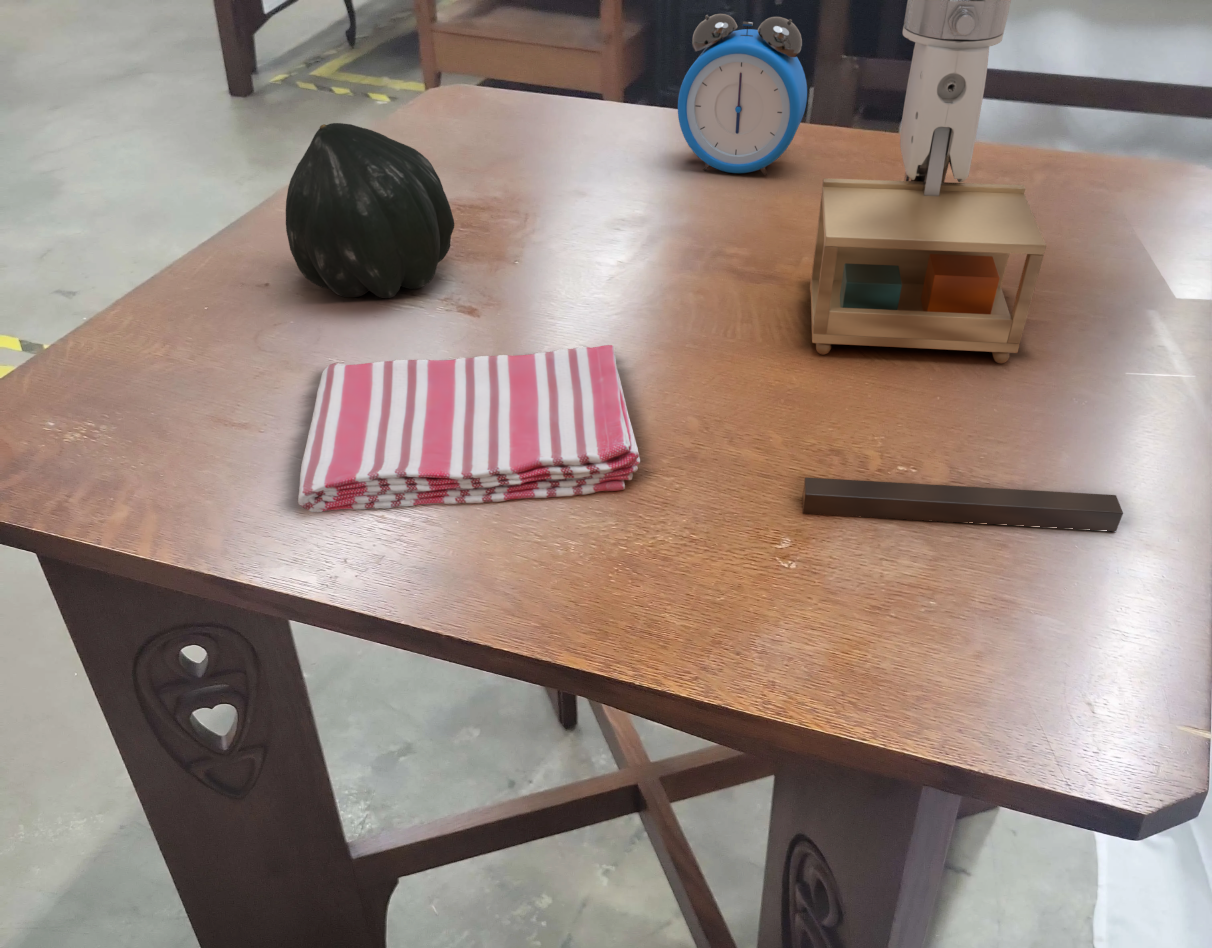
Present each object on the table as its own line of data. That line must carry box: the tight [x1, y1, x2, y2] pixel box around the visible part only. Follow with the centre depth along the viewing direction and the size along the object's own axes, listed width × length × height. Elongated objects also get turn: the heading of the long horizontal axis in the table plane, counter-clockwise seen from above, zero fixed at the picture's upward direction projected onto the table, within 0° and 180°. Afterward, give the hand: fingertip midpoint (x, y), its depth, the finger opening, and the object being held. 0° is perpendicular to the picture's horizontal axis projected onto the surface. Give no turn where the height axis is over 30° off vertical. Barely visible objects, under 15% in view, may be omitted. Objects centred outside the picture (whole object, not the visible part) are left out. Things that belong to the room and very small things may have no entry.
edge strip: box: [801, 476, 1124, 532], centre depth 69 cm, size 20×2×2 cm, turn 83°
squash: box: [285, 122, 455, 299], centre depth 93 cm, size 14×15×15 cm
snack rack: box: [809, 177, 1047, 364], centre depth 86 cm, size 16×11×10 cm
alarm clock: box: [677, 13, 808, 176], centre depth 113 cm, size 13×6×15 cm, turn 74°
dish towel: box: [297, 344, 641, 513], centre depth 77 cm, size 17×23×4 cm
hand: (910, 247), depth 93 cm, fingers closed
